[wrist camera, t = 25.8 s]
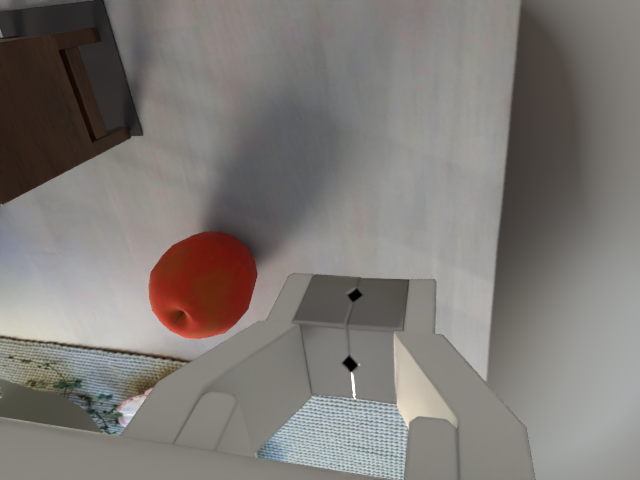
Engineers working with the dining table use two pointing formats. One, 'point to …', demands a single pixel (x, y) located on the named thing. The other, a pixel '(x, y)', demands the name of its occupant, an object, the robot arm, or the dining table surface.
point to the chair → (47, 110)
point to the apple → (203, 285)
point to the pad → (84, 53)
